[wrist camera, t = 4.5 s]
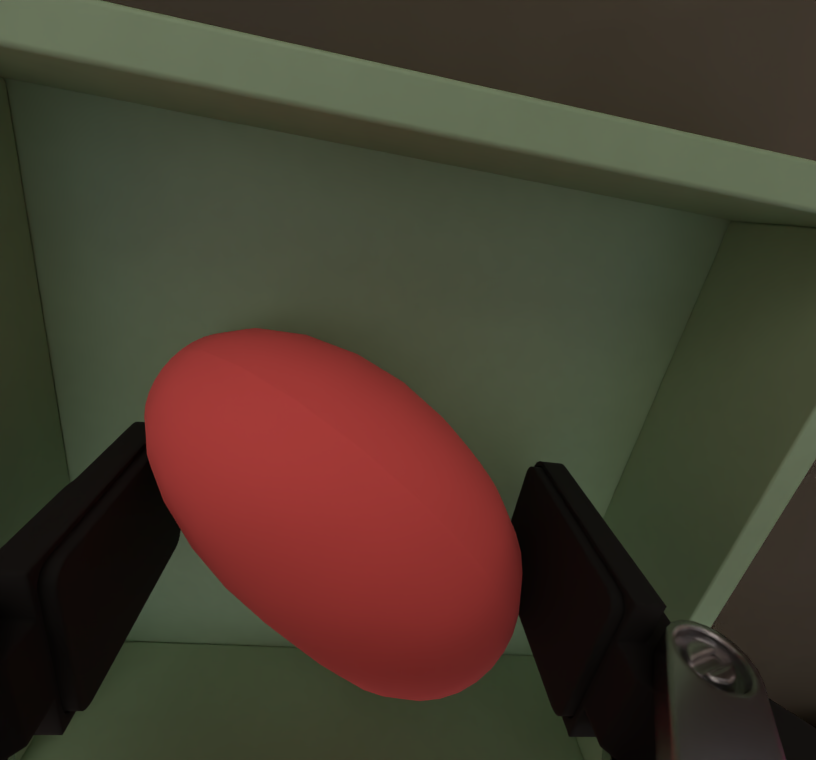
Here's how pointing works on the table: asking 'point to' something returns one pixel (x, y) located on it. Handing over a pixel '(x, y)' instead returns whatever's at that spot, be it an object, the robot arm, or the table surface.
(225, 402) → the red oval piece
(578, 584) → the robot arm
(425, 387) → the tote
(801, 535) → the table surface
